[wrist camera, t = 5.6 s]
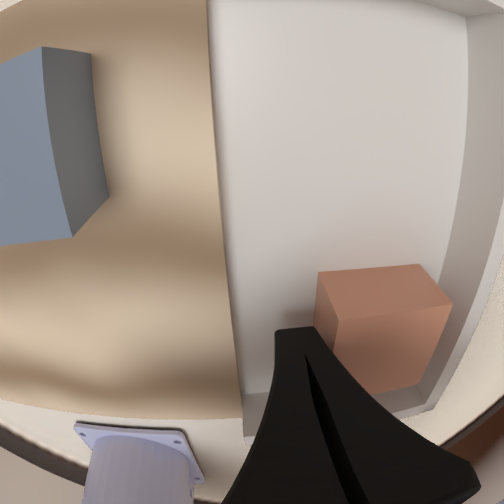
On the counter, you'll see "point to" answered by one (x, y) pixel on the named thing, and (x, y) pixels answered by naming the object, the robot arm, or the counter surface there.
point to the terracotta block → (381, 322)
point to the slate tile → (48, 146)
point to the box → (356, 164)
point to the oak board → (128, 229)
